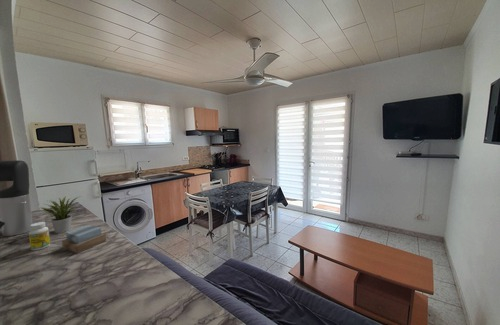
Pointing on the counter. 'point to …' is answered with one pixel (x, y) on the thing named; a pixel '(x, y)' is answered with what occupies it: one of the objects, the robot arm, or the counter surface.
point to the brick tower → (83, 238)
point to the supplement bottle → (39, 236)
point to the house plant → (61, 215)
